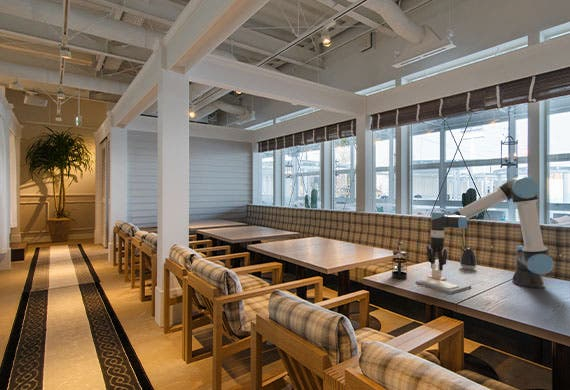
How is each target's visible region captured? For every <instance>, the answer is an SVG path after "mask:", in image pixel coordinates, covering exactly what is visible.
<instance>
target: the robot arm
mask: <svg viewBox="0 0 570 390" xmlns="http://www.w3.org/2000/svg"><path fill="white" fill-rule="evenodd" d="M539 191H540V185H539V184H538V182H537V180H535V179H534V178H531V177H528V176H520V177H514V178H511V179H509V180H507V181H506V182H504V183H502V184H501V185H500V186H497V187H496V189H495V190H494V191H491V192H489V193H488V194H486V195H484V196H482V197H480V198H479V199H476V200H474V201H473V202H471V203H469V204H467V205H466V206H464V207H461V208H460V209H457V210H456V211H454V212H451V213H449V214H446V213H445V211H432V212H431V217H430V244H429V245H426V249H427V261H428V262H429V263H430V267H431V270H432V269H434V268H438V276H441V277H442V271H443V270H444V269H443V268H444V266H445V265H447V257H448V252H449V249H448V248H446V247H445V228H447V229H449V228H450V229H466V228H467V227H468V220H469V219H471V218H473V217H475V216H477V215H479V214H480V213H482V212H484V211H486V210H488V209H490V208H492V207H495V206H497V205H498V204H500V203H502V202H504V201H505V202H508V201H510V200H511V201H512V203H513V204H515V205H516V208H517V214H518V219H519V225H520V229H521V234H522V241H523V245H518V246H517V247H516V250H515V252H516V254H515V255H516V257H515V260H516V262H515V272H514V274H513V276H512V277H511V282H512V284H514V285H516V286H520V287H525V288H530V289H531V288H533V289H542V288H544V286H545V285H544V284H545V283H544V279H543V277H542V275H546V274H549V273H550V272H551V271H552V270H553V268H554V266H555V263H554V260H553V258H552V257H550V253H549V248H548V247H547V246H545V245H544V241H543V237H542V236H543V235H542V229H541V226H540V225H541V224H540V219H539V214H538V209H537V201H538V200H539V196H538V193H539ZM437 256H438V257H437ZM436 257H437V258H438V264H437V263H436Z"/></svg>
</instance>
